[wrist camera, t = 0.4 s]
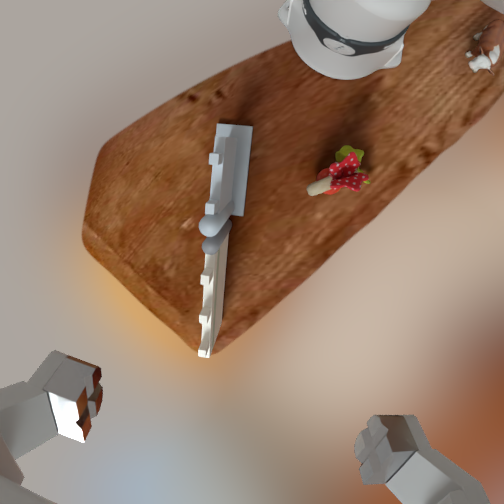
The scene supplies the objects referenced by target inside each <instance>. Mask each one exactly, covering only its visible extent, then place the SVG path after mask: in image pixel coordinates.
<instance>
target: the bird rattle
mask: <svg viewBox="0 0 504 504" xmlns="http://www.w3.org/2000/svg"><path fill="white" fill-rule="evenodd" d="M363 155H364V152H363V151H362V150H360V149H353V148H352V147H351V146H349V145H345V146H343V147H342V148H341V149H340V150H339V151H338V152H336V153H335V158H336V161H337V162H336V163H332V164H331V165H330V168H326V169H323V170H322V171H320V172H319V174H318V175H317V178H316V181H315V182H313V183H311V184H309V185H308V186H307V191H308V193H309V195H311V196H314V195H317V194H320V193H324V194H329V195H330V194H334V193H337V192H338V191H339V190H340V189H341V188H342V187H347V188H349V189H351V190H353V191H360V188H361V183H362V181H363V182H364V183H368V184H369V183H370V181H369V177H368V175H367V174H365V173H364V172H363V171H362V170H360V169H359V166H360V165H361V163H360V161H361V158H362V156H363Z"/></svg>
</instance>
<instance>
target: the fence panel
mask: <svg viewBox="0 0 504 504" xmlns="http://www.w3.org/2000/svg"><path fill="white" fill-rule="evenodd" d="M231 228H232V222H231V220H230V219H227V221H226V222H225V223H224V225H223V226H222V228H221V229H220V231H219V232H218V233H217V234H216V235H215V236H212V237H207V238H206V239H205V241H204V242H203V244H202V249H203V251H204V252H205V253H206V254H205V269H204V271H203V273H202V274H201V284H203V285H204V293H203V308H202V311H201V313H200V315H199V323H202V342H201V344H200V347H199V349H198V356H200V357H205V358H209V357H210V355H211V352H212V349H213V346H214V343H215V340H216V337H217V334H218V332H219V329H220V326H221V323H222V312H223V299H224V286H225V273H226V261H227V249H228V238H229V231H230V229H231Z"/></svg>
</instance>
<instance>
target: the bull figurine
mask: <svg viewBox="0 0 504 504" xmlns="http://www.w3.org/2000/svg"><path fill="white" fill-rule="evenodd" d="M473 38H474V40H476V41H477V40H478V39H479V43H478V45H477V47H476V48H475V49H474V50H473V51H472V52H471V51H469V52H466V53H465V55H466V57H467V58H469V57H471V56H472V55H475V58H474V59H473V60H472V61H469V62H468V63H469V66H470V68H471V69H472V70H473V72H475V73H476V72H477V71H478V69H482V68H484V69H485V68H486V69H487V70H488V71H489V72H490V73H491V74H492V75H494V73H493V72H492V70H491V69H490V68H491V67H493V66H495V65H496V64H497V63H498V62H499V61H500V59H501V57H502V55H503V53H504V21H502V20H499V19H498V20H494V21H492V22H491V23H489V24H488V25H487V26H486V27H485V28H484V29H483V30H482V32H481V33H477V34H476V35H474V36H473Z"/></svg>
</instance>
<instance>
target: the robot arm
mask: <svg viewBox="0 0 504 504" xmlns="http://www.w3.org/2000/svg"><path fill="white" fill-rule="evenodd" d="M481 1H482V2H483V3H485V4H486V5H488V6H489V7H491V8H493V9H495V10H497V11H499V12H500V13H502V14H504V0H481ZM430 2H431V0H286V1H285V3H284V4H283V5H282V7H281V8H280V9H279V11H278V17H279V19H280V21H281V22H282V23H283V24H284V26H285V27H286V28H287V29H288V31H289V33H290V36H291V40H292V43H293V46H294V48H295V50H296V52H297V53H298V55H299V56H300V57H301V59H302V60H303V61H304V62H305V63H306V64H307V65H309V66H310V67H311V68H313V69H314V70H316V71H317V72H319V73H321V74H323V75H326V76H329V77H332V78H336V79H345V80H350V79H358V78H362V77H365V76H367V75H369V74H371V73H373V72H374V71H376V70H378V69H382V68H394V67H397V66H398V65H399V64H400V62H401V57H402V49H403V47H404V44H403V39H404V34H405V33H406V31H407V29H408V28H409V25H410V24H411V23H412V22H413V21H414V20H415V19H416V18H418V17H419V16H420V15H421V14H422V13H423V12H425V10H426V9H427V8H428V6H429V5H430ZM288 7H289V9H288ZM101 377H102V374H101V368H100V367H98V366H96V365H93V364H90V363H88V362H85V361H82V360H80V359H77V358H74V357H71V356H69V355H66V354H63V353H61V352H59V351H56V350H54V351H52V352H51V353H50V354H49V355H48V357H47V358H46V359H45V360H44V361H43V363H42V364H41V365H40V366H39V368H38V369H37V371H36V372H35V373H34V374H33V375H32V377H31V378H30V379H29V381H28V382H27V383H26V382H24V381H22V382H19V383H16V384H13V385H10V386H7V387H5V388H2V389H0V504H57V503H54V502H52V501H50V500H48V499H46V498H44V497H41V496H40V495H37V494H35V493H33V492H32V491H30V490H28V489H26V488H24V487H22V486H20V485H21V483H22V481H23V479H24V476H23V473H22V471H21V469H20V468H19V466H18V464H17V463H16V461H15V460H16V459H18V458H19V457H21V456H23V455H24V454H26V453H28V452H30V451H31V450H33V449H35V448H36V447H38V446H40V445H41V444H43V443H45V442H46V441H48V440H50V439H51V438H53V437H55V436H56V435H58V433H60V434H63V435H65V436H68V437H71V438H73V439H76V440H79V441H81V442H85V440H86V437H87V435H88V433H89V431H90V429H91V427H92V425H91V418H93V417H95V416H97V414H98V412H99V410H100V407H101V403H102V397H103V389H102V388H103V387H102V386H101V385H100V383H99V381H100V379H101ZM367 426H368V428H366V429H364V430H363V431H361V432H360V433H359V435H358V437H357V438H356V442H355V446H354V447H355V455H356V458H357V459H358V460H359V461H360V462H361V463H362V464H361V466H360V468H359V470H360V474H361V478H362V481H363V484H364V485H367V484H384V483H386V486H387V487H388V488H389V489H390V490H391V491H392V493H394V495H395V496H396V497H397V498H398V499H399V500H400V501H401V502H402V503H403V504H490V502H489V499H488V497H487V495H486V493H485V491H484V489H483V487H482V485H481V483H480V482H479V481H478V480H476V479H475V478H474V477H472V476H471V475H469V474H468V473H467V472H465V471H464V470H463V469H461V468H460V467H459V466H457V465H456V464H455V463H453V462H452V461H451V460H449V459H448V458H446V457H445V456H444V455H442V454H441V453H440V452H439V451H437V450H436V449H432V448H431V446H430V444H429V442H428V440H427V438H426V436H425V434H424V432H423V430H422V427H421V425H420V424H419V421H418V419H417V418H416V417H415V416H414V415H373V416H372V417H371V418H370V419H369V420H368V422H367Z"/></svg>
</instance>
